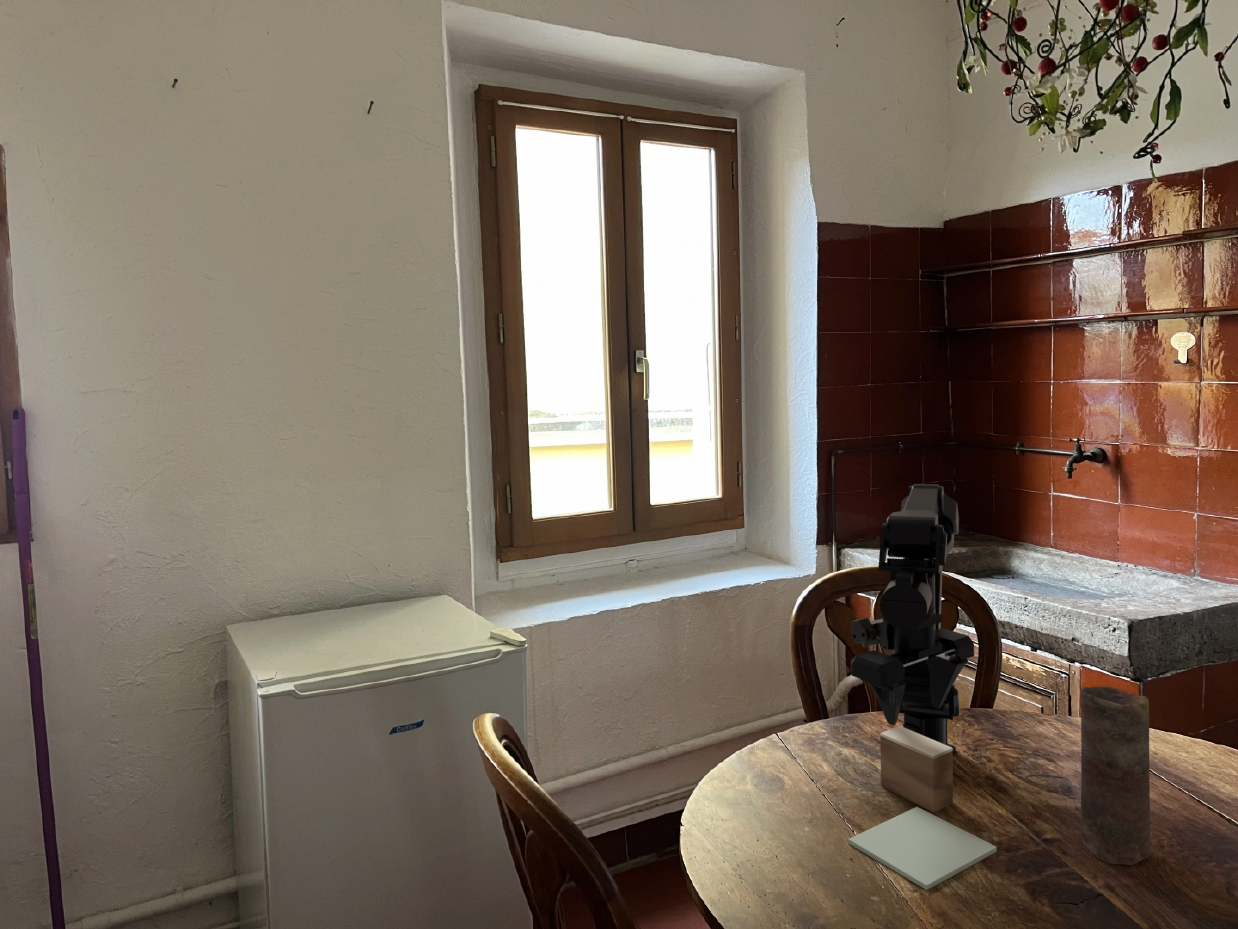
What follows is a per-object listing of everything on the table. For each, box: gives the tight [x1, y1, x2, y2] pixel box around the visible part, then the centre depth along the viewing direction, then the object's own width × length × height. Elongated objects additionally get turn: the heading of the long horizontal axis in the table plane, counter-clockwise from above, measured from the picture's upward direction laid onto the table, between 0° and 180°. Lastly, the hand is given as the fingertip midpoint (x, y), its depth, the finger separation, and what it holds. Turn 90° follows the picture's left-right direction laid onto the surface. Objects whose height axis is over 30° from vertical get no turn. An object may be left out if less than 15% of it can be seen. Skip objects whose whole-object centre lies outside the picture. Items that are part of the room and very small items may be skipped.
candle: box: [1080, 685, 1151, 866], centre depth 104 cm, size 8×7×20 cm
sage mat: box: [847, 806, 998, 891], centre depth 107 cm, size 13×12×1 cm
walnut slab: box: [879, 725, 954, 813], centre depth 120 cm, size 4×9×8 cm, turn 32°
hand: (914, 715), depth 119 cm, fingers open, 9 cm apart
